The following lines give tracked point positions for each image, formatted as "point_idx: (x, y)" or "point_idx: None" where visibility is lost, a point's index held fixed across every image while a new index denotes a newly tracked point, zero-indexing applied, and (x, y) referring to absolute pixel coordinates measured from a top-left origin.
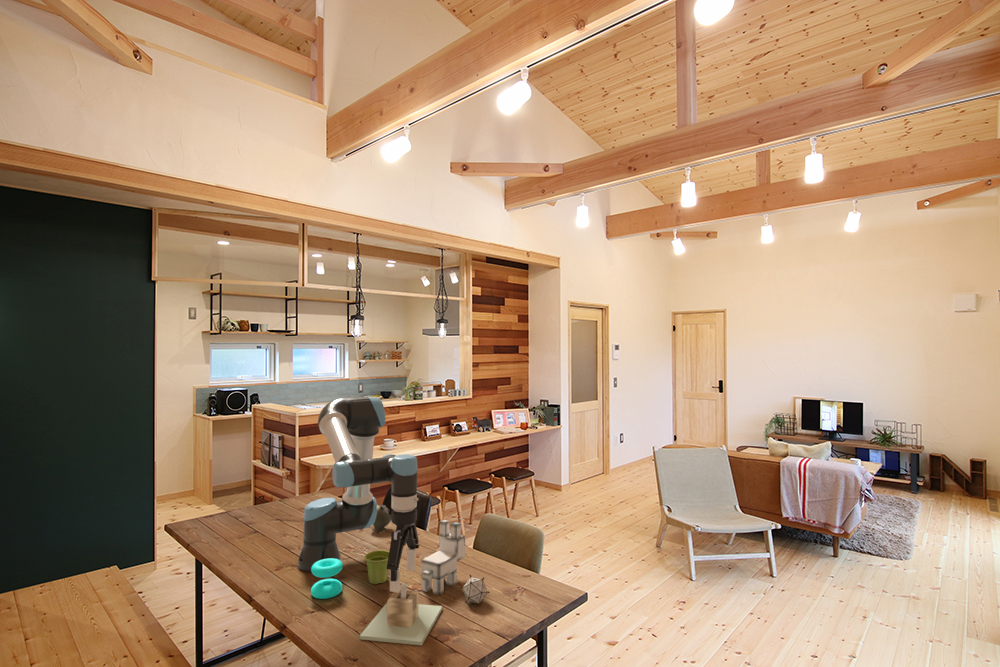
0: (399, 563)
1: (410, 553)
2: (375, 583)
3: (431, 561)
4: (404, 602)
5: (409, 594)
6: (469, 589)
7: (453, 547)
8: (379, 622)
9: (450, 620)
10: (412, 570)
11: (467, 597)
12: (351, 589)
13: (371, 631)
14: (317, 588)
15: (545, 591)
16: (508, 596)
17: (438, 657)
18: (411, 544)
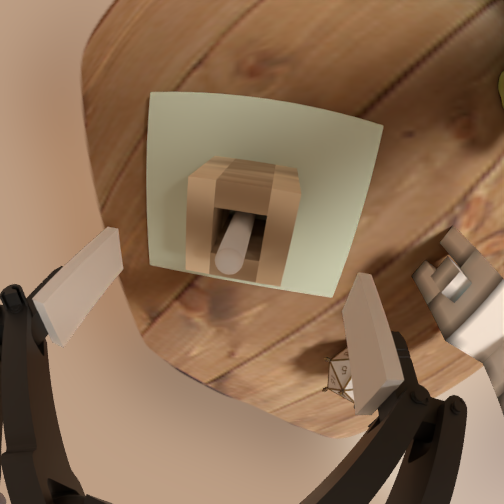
0: (47, 364)
1: (367, 374)
2: (498, 85)
3: (479, 313)
4: (186, 247)
5: (260, 254)
6: (338, 375)
7: (498, 369)
8: (231, 124)
9: (272, 311)
10: (347, 303)
11: (339, 355)
12: (465, 14)
13: (174, 117)
14: None
15: (362, 419)
16: None
17: (126, 292)
18: (357, 446)
